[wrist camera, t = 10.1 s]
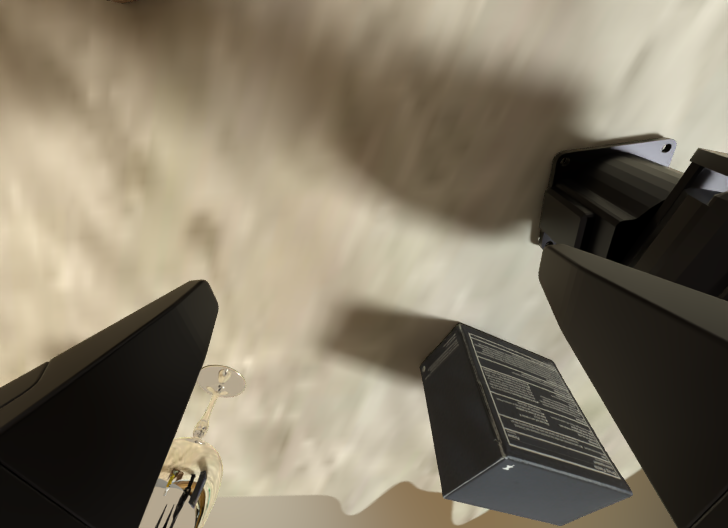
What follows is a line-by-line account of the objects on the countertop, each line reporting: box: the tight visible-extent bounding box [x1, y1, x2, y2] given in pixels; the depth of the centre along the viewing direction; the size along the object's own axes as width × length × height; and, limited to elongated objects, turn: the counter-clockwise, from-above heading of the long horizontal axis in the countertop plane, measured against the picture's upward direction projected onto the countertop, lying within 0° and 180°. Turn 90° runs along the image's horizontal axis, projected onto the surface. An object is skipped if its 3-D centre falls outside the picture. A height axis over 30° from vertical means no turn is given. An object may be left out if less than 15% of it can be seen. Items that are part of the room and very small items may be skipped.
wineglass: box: [139, 366, 246, 528], centre depth 25 cm, size 6×6×12 cm
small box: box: [420, 323, 633, 526], centre depth 25 cm, size 11×6×10 cm, turn 63°
